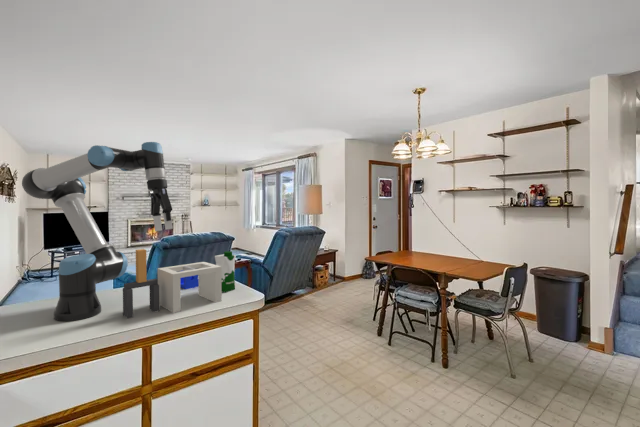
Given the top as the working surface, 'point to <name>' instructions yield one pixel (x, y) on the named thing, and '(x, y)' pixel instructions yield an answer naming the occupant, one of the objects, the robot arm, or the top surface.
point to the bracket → (189, 282)
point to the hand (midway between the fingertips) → (163, 230)
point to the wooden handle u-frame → (140, 282)
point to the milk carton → (227, 270)
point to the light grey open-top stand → (171, 279)
